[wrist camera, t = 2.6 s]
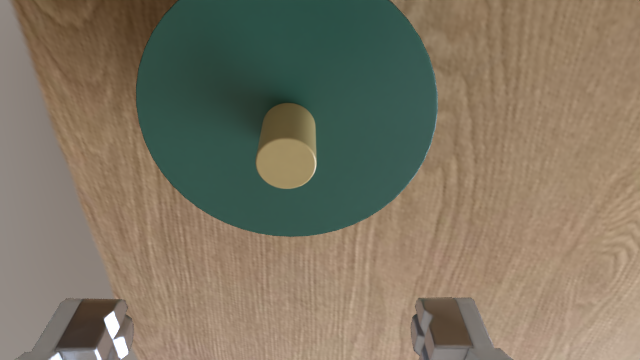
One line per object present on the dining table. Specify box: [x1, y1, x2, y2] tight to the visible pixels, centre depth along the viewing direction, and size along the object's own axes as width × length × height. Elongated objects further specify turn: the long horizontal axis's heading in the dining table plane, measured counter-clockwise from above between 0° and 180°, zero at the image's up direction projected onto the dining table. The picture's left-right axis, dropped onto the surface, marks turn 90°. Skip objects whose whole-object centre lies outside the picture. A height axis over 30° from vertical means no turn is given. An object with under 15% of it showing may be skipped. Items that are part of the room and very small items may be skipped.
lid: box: [136, 0, 438, 237], centre depth 20 cm, size 15×15×5 cm
